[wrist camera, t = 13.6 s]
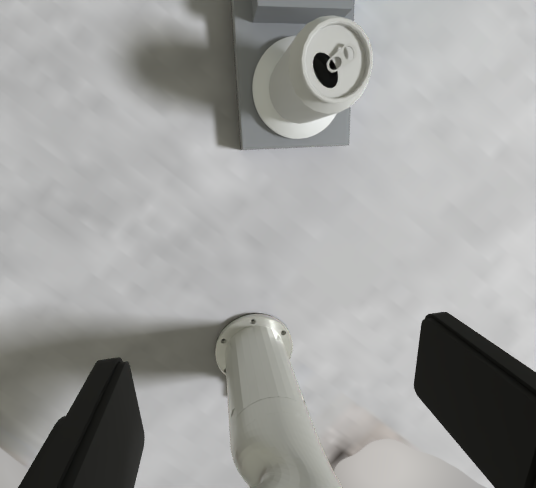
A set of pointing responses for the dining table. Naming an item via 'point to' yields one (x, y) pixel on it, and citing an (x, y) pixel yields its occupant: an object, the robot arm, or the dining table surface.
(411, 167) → the dining table surface
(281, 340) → the robot arm
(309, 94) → the can
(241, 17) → the scale
